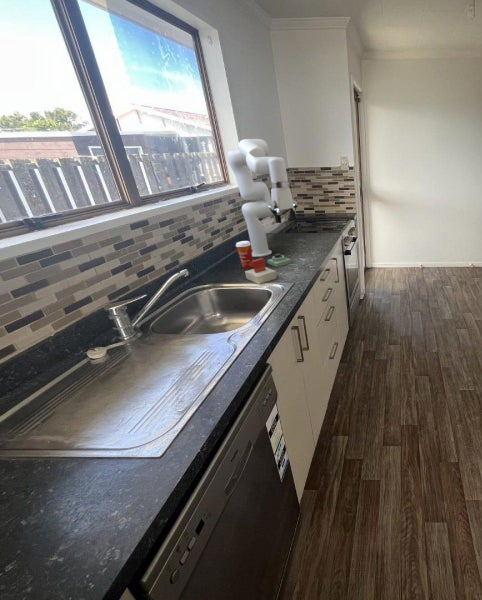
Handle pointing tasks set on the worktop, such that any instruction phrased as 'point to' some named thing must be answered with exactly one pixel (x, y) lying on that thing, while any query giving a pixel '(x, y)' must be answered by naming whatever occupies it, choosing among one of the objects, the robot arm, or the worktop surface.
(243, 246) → the paper cup
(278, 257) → the button
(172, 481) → the worktop surface
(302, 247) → the worktop surface
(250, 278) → the block
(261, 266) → the tap handle
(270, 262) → the switch block
